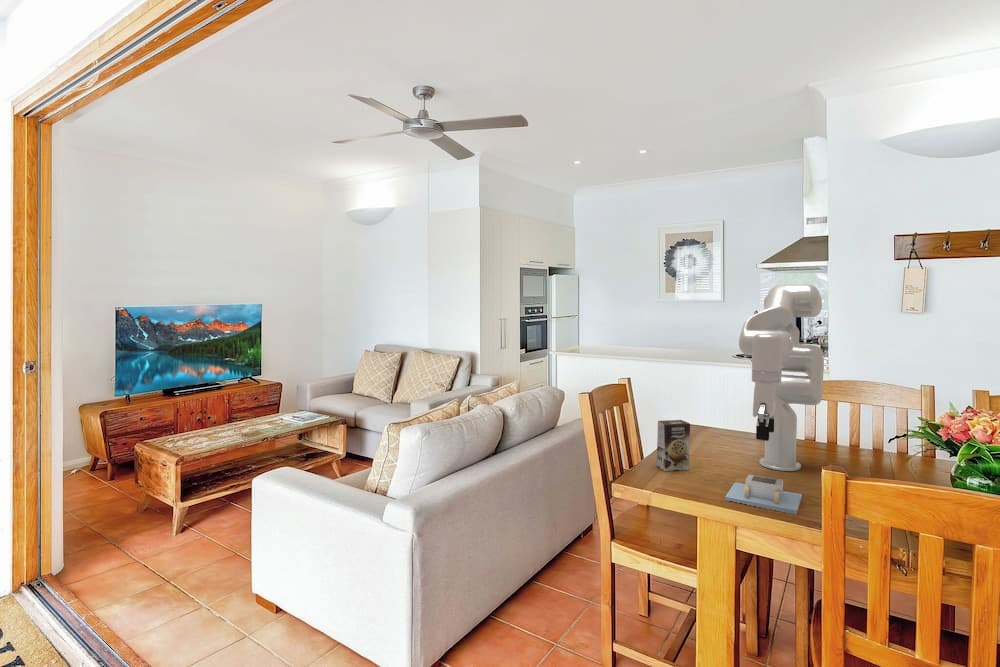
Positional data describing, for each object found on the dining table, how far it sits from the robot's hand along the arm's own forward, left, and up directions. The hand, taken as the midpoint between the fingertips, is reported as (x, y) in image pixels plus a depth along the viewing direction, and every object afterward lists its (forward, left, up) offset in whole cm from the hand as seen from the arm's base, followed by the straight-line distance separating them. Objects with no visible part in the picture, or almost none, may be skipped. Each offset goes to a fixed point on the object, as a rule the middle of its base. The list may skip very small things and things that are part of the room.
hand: (765, 435), depth 150 cm
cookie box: (-14, -30, -19) cm, 38 cm away
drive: (0, 0, -17) cm, 17 cm away
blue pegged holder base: (0, 0, -19) cm, 19 cm away
